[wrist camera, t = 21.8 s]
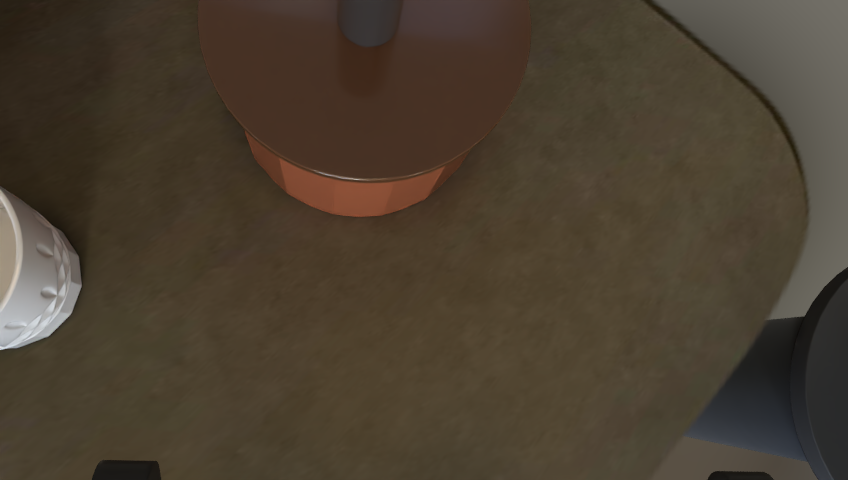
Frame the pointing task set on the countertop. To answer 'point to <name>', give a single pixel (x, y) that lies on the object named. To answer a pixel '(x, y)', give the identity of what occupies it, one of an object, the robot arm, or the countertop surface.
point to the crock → (349, 187)
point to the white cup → (33, 274)
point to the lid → (366, 78)
